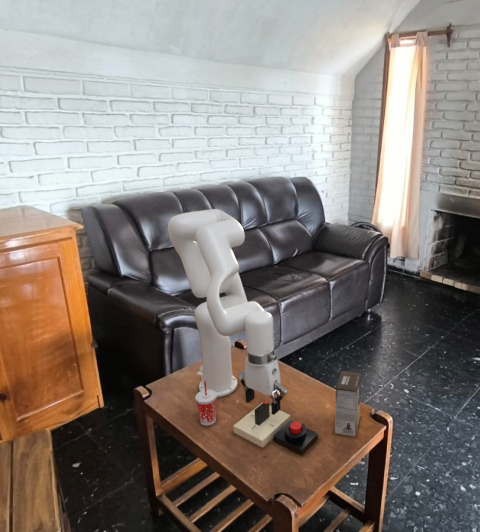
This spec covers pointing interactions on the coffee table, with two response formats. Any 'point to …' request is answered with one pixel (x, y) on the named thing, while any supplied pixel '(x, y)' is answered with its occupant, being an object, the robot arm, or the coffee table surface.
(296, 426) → the power button
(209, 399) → the beverage cup
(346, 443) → the coffee table surface
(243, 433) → the panel
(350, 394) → the coffee box
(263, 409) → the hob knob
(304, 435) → the power box
